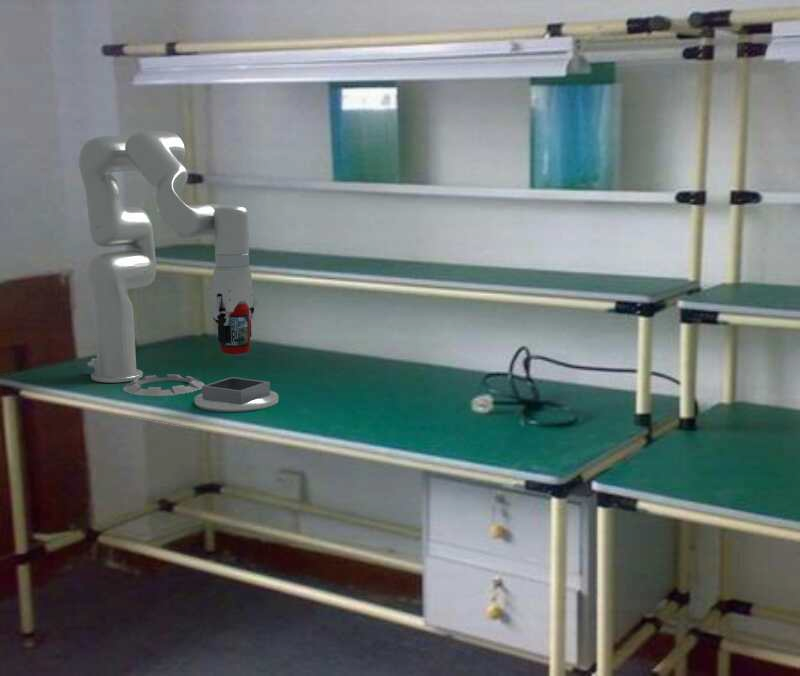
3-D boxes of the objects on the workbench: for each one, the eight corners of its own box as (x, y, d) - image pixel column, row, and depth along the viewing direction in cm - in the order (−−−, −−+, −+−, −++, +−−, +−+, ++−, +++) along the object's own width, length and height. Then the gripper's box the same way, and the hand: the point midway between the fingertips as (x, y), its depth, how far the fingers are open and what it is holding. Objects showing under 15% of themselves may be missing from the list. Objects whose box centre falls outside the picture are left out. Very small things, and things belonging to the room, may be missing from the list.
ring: (220, 385, 279) (220, 377, 279) (168, 401, 263) (168, 393, 262) (160, 377, 289) (159, 369, 288) (106, 392, 272) (105, 384, 272)
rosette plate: (177, 405, 257) (176, 387, 256) (229, 389, 273) (228, 372, 272) (245, 416, 248) (244, 397, 247) (294, 398, 264) (294, 380, 263)
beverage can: (218, 356, 255) (216, 303, 253) (223, 350, 262) (221, 298, 259) (248, 356, 255) (246, 303, 253) (252, 350, 261) (251, 298, 259)
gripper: (242, 257, 264) (244, 332, 267) (194, 264, 249) (197, 344, 252) (268, 258, 260) (270, 335, 263) (221, 266, 245) (224, 347, 248)
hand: (235, 339), depth 258 cm, fingers closed on beverage can, 6 cm apart
